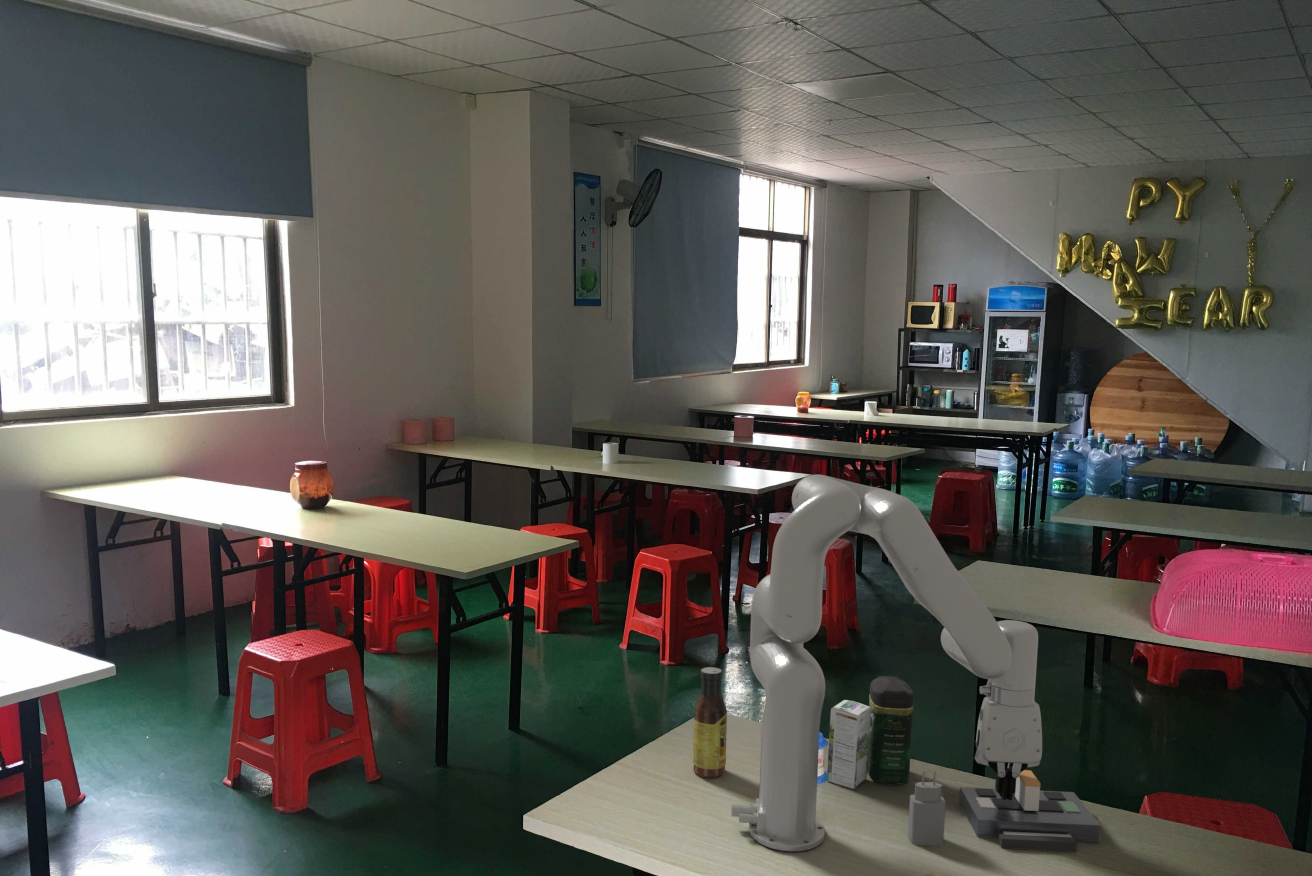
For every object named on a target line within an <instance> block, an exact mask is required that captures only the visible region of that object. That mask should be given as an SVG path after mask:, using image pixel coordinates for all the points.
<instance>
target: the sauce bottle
mask: <svg viewBox="0 0 1312 876" xmlns="http://www.w3.org/2000/svg"><path fill="white" fill-rule="evenodd" d="M700 679H701V683H700V684H701V686H700V695H699V696H698V698H697V700H696V702H695V704H694V718H693V743H692V744H693V748H692V749H693V751H692V752H693V753H692V756H693V757H692V764H693V768H692V769H693V772H694V773H695V775H698V776H700V777H702V778H709V779H710V778H718V777H720V776H722V775H723V774H724V773H725V769H726V761H727V733H728V732H727V729H728V728H727V722H728V721H727V720H728V709H727V708H726V703H725V701H724V697H723V694H722V679H723V670H722V669H720V668H718V667H715V666H714V667H712V666H709V667H703V668H702V669H700Z"/></svg>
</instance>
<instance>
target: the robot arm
mask: <svg viewBox="0 0 1312 876" xmlns="http://www.w3.org/2000/svg"><path fill="white" fill-rule="evenodd" d="M791 504H792V508H793V509H794V510H793V511H792V512H791V513H790V514H789V516H788V517H787V518H786V519H785V520H784V521H783V523H781V526H780V527H779V529H778V531H777V533H776V534H775V535H776V536H775V538H774V542H773V546H772V554H771V563H770V564H771V565H770V566H771V567H770V573H769V574H767V575H766V576H764V577H763V578H762V579H761V581H759V583H758V584H757V586H756V587H755V589H754V592H753V595H752V600H751V610H750V612H751V613H750V614H751V615H750V640H749V641H750V643H749V657H750V658H749V659H750V665H751V670H752V671H753V673H754V676H755V677H756V679H757V680H758V682H759V683H760V684H761V686H762V687H763V689H764V691H765V704H764V709H763V713H762V719H761V727H760V731H761V732H760V765H759V768H760V769H759V792H758V793H759V796H758V797H756V799H755V803H750V804H749V805H744V804H743V805H742V804H733V803H732V804H731V809H730V810H731V814H730V815H731V817H734V818H735V817H737V818H738V822H739V823H743V824H746V823H748V832H749V835H750V836H751V838H753V840H755V841H756V842H757V843H759V844H760V845H763V846H764V847H766V848H770V849H773V850H776V851H783V852H803V851H808V850H812V849H815V848H816V847H818V846H819V845H821V844H822V843H823V842H824V840H825V837H826V836H825V835H826V833H825V832H826V829H825V826H824V825H823V823H822V822H821V821H820V820H819V819H818V818H817V799H818V798H817V797H818V796H817V795H818V794H817V793H818V778H819V777H818V775H819V774H818V772H819V750H820V726H821V718H822V717H821V716H822V711H823V706H824V700H825V696H826V680H825V676H824V672H823V669H822V667H821V666H820V664H819V663H818V661H817V660H816V658H814V656H813V655H812V654H811V653H810V652H809V651H808V650H807V649H805V648H804V643H807V642H809V641H811V640H812V639H813V638H814V637H815V636H816V635H817V633H818V632H819V629H821V628H820V627H821V623H822V618H823V590H824V589H823V587H824V586H823V585H824V584H823V582H824V572H825V571H824V569H825V562H826V561H825V560H826V556H827V553H828V551H829V549H830V548H831V546H832V545H833V543H834V542H835V541H837V539H839V538H840V537H841V536H843V535H844V534H846V533H847V532H854V533H859V534H864V535H868V536H870V537H872V538H873V539H875V541H876V542H877V543H878V545H879V547H880V548H881V550H882V552H883V553H884V555H885V557H887V558H888V561H890V563H891V564H892V567H893V568H894V571H896V572H897V575H898V576H899V578H900V580H901V581H902V582H903V584H904V586H905V588H906V589H907V591H908V592H909V593H910V594H911V596H912V597H913V598H914V599H915V600H916V602H918V603H919V604H920V605H921V606H922V607H923V608H925V610H927V611H928V612H929V613H930V614H931V615H932V616H933V617H934V618H936V620H937V621H938V622H940V624H941V625H942V626H943V629H942V631H941V634H940V642H941V646H942V648H943V650H944V651H945V653H946V654H947V655H948V656H949V657H950V658H952V659H953V660H954V661H956V662H957V663H958V664H960V665H961V666H963V667H964V668H966V669H967V670H968V671H970V672H971V673H973V674H974V676H977V677H979V678H980V679H981V678H982V679H985V680H987V683H986V685H981V686H979V694H980V695H984V696H985V697H984V698H983V700H982V704H981V707H980V712H979V715H978V720H977V729H976V739H975V747H976V752H975V755H974V760H975V761H976V763H977V764H980V765H983V766H988V767H989V768H991V769H992V771H994V772H995V783H994V789H996V792H997V793H998V794H999V795H1000V797H1001V798H1002V800H1006V799H1008V800H1012V798H1013V793H1015V791H1016V778H1018V777H1019V775H1020V773H1021V772H1022V771H1024V770H1027V768H1032V767H1033V768H1034V767H1038V766H1040V763H1041V760H1042V755H1043V732H1042V730H1043V727H1042V715H1041V709H1040V704H1039V703H1037V702H1036V701H1035V696H1036V695H1035V694H1036V679H1037V666H1038V665H1037V662H1038V647H1039V634H1038V633H1039V632H1038V630H1037V628H1036V627H1035V626H1034V625H1032V624H1030V623H1028V622H1025V621H1020V620H1014V619H1013V620H1012V619H1010V620H1009V619H1005V620H1000V621H996V618H995V617H994V615H993V614H992V613H991V611H990V610H989V608H988V607H987V606H986V605H985V603H984V602H983V601H982V600H981V598H980V597H979V596H978V594H977V593H976V592H975V591H974V590H973V588H972V587H971V586H970V584H969V583H968V582H967V580H966V579H965V578H964V576H963V575H962V574H961V573H960V572H959V571H958V569H957V568H956V566H954V564H953V563H952V561H951V559H950V557H949V556H948V555H947V553H946V552H945V550H944V547H942V545H941V543H940V541H939V540H938V539H937V537H936V535H935V533H934V532H933V530H932V528H931V527H930V525H929V524H928V522H927V520H926V519H925V517H924V515H923V513H922V512H921V510H920V509H919V507H917V505H916V504H915V503H914V502H913V501H912V500H911V499H909V498H908V497H905V496H904V495H901V494H898V493H897V492H896V493H895V492H894V491H892V490H887V489H884V488H879V487H876V486H870V485H865V484H861V483H856V482H853V481H849V480H845V479H841V478H838V477H837V478H836V477H833V476H828V475H826V474H825V475H824V474H810V475H807V476H806V477H804V478H802V479H800V480H799V481H798V483H796V485H795V487H793V491H792V496H791ZM1005 764H1007V768H1006V766H1005Z"/></svg>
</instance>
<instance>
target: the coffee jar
mask: <svg viewBox="0 0 1312 876" xmlns="http://www.w3.org/2000/svg"><path fill="white" fill-rule="evenodd" d="M868 701H869V703H868V706H869V707H870V708H871V718H870V735H869V750H868V766H867V776H868V777H869V778H870V779H871V780H872V781H873V782H877V783H881V784H884V785H888V786H897V785H901V784H906V783H907V782H908V781H909V779H910V771H911V770H910V768H911V750H912V749H911V748H912V732H913V714H914V692H913V690H912V688H911V687H910V684H908V683H907V682H905V680H902V679H901V678H900V677H899V676H889V675H887V676H885V675H879V676H878V677H876V678H875V679H873V680H872V681H871V682H870V686H869V699H868Z"/></svg>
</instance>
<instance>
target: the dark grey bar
mask: <svg viewBox="0 0 1312 876" xmlns="http://www.w3.org/2000/svg"><path fill="white" fill-rule="evenodd" d="M1077 843H1078V842H1076V841H1075V839H1074V838H1073V837H1071V835H1067V834H1046V833H1026V832H1005V831H1003V834H999V838H998V844H999V846H1000V848H1001V849H1013V850H1015V849H1016V850H1032V851H1033V850H1034V851H1049V852H1051V851H1053V852H1058V851H1059V852H1073V853H1074V852H1075V853H1076V852H1077Z"/></svg>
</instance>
